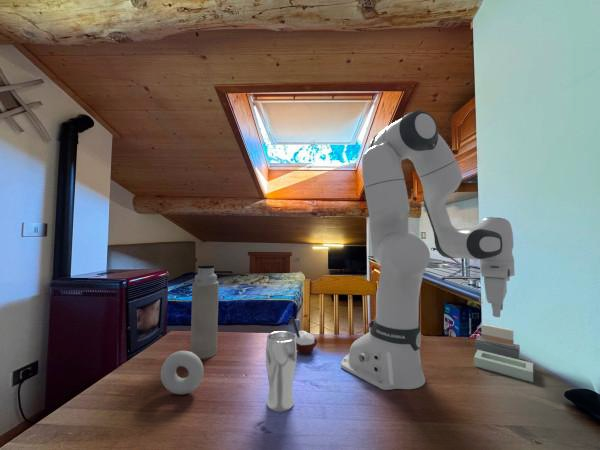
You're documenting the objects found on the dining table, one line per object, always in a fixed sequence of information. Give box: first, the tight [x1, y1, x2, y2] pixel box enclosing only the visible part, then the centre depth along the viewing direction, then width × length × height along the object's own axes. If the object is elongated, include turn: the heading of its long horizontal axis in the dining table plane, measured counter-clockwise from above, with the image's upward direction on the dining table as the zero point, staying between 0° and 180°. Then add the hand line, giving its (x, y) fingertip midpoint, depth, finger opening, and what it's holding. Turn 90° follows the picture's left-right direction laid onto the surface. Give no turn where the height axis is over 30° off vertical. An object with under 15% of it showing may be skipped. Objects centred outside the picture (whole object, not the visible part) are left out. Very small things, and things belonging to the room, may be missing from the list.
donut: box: [160, 350, 205, 395], centre depth 65 cm, size 10×4×10 cm, turn 90°
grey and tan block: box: [474, 335, 521, 360], centre depth 85 cm, size 11×6×5 cm, turn 50°
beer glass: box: [265, 330, 298, 413], centre depth 62 cm, size 7×7×15 cm
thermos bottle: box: [189, 263, 220, 360], centre depth 87 cm, size 8×8×28 cm
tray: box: [473, 350, 534, 383], centre depth 77 cm, size 13×7×4 cm, turn 50°
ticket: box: [481, 323, 515, 347], centre depth 85 cm, size 8×2×9 cm, turn 50°
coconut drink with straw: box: [290, 315, 318, 356], centre depth 88 cm, size 10×6×12 cm, turn 98°
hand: (498, 312), depth 86 cm, fingers open, 8 cm apart
